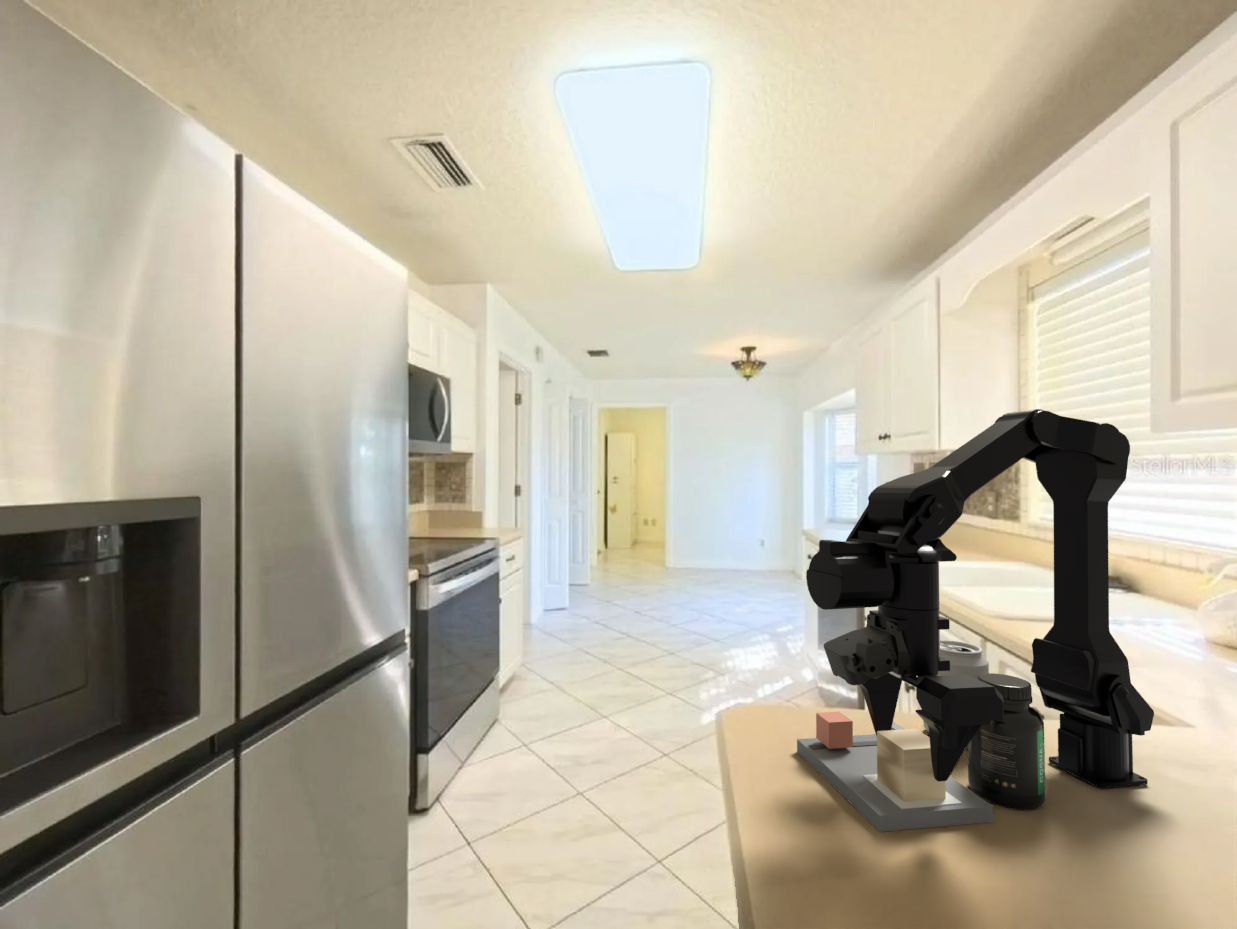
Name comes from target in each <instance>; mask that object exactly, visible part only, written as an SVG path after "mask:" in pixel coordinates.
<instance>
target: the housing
mask: <svg viewBox="0 0 1237 929" xmlns="http://www.w3.org/2000/svg"><path fill="white" fill-rule="evenodd" d="M877 779H878V780H879V781H880V782H881V783H882V784H884V785H885V786H886V787H887V788H888V789H890V790H891V791H892V792H893V793H894V794H896V795H897V796H898V797H899V798H900V799H902V800H903V801H904V802H908V801H920V800H933V799H945V798H946V781H937V780H935V778H934V774H933V768H932V760H931V749H930V738H929V736H928V735H926V734H925V733H923V732H921V731H920V730H919V729H917V728H909V729H906V728H904V730H887V731H877Z"/></svg>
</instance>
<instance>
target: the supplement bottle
mask: <svg viewBox="0 0 1237 929" xmlns="http://www.w3.org/2000/svg"><path fill="white" fill-rule="evenodd" d="M978 680H980V681H982V682H985V683H987V684H989V685H992V686H994V687H995V688H996V689H997V690H998V691H999V692H1000V693H1001V694H1002V696H1003V708H1004V718H1003V720H994V721H992V724H986V725H982V727H981V728H980V729H979V731H978V732H977V733H976V734H975V736H974V737H973V738H972V740H971V741H970V743H969V744H968V747H967V774H968V776H967V778H968V785H969V787H970V788H971V789H970V790H971V791H972V792H973V793H975V794H976V795H978V796H979V797H981V798H982V799H984V800H985V801H986V802H988V803H990V804H991V803H992V804H993V805H997V806H999V807H1003V808H1008V809H1010V810H1011V809H1012V810H1016V811H1034V810H1035V811H1036V810H1037V809H1039V808H1042V807H1043V806H1044V805H1045V802H1046V765H1045V764H1046V761H1045V760H1046V758H1045V754H1046V753H1045V752H1046V751H1045V724H1044V720H1043V717H1042V715H1041V714H1040V713H1039V712H1038V711H1037V710H1036V709H1035V708H1033V707H1032V706H1030V705H1031V704H1033V696H1032V692H1033V691H1032V684H1031V682H1029V681H1028V680H1026V679H1023V678H1020V677H1019V676H1018V677H1017V676H1013V675H1010V674H1009V675H1008V674H1003V673H994V672H993V673H990V672H989V673H985V674H980V675H978Z"/></svg>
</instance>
